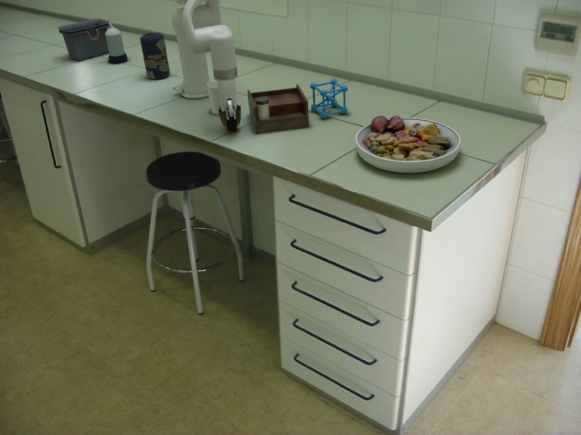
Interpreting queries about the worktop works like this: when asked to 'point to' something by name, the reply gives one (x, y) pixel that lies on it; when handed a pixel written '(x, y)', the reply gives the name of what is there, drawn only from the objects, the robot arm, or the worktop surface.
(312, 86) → the molecular structure
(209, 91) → the white cup
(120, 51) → the humidifier
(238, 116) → the brown hollow bell-shaped piece
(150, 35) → the canister
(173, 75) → the worktop surface
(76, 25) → the storage bin
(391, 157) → the bowl
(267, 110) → the spice jar
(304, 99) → the spice rack
